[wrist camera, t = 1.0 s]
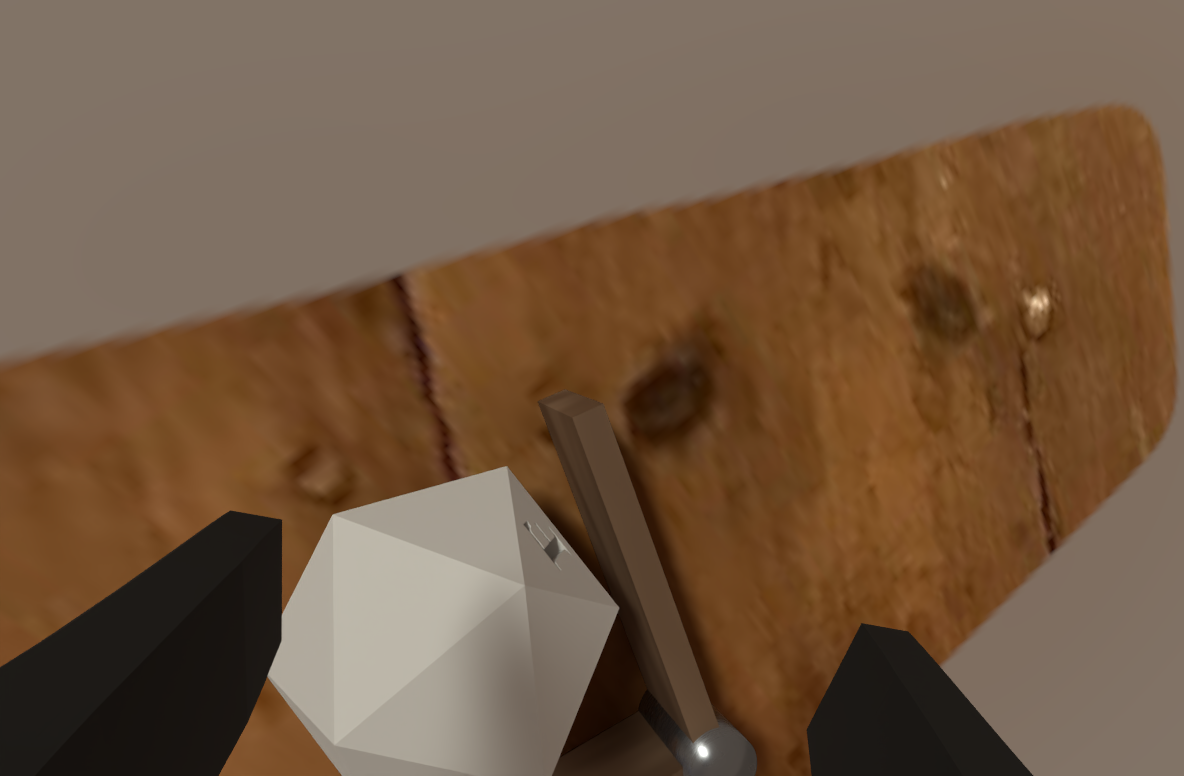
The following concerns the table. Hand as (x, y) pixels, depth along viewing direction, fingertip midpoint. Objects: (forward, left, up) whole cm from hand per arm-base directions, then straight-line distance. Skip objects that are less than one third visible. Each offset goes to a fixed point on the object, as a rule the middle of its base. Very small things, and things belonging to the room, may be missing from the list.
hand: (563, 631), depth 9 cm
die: (-2, -5, -15) cm, 16 cm away
